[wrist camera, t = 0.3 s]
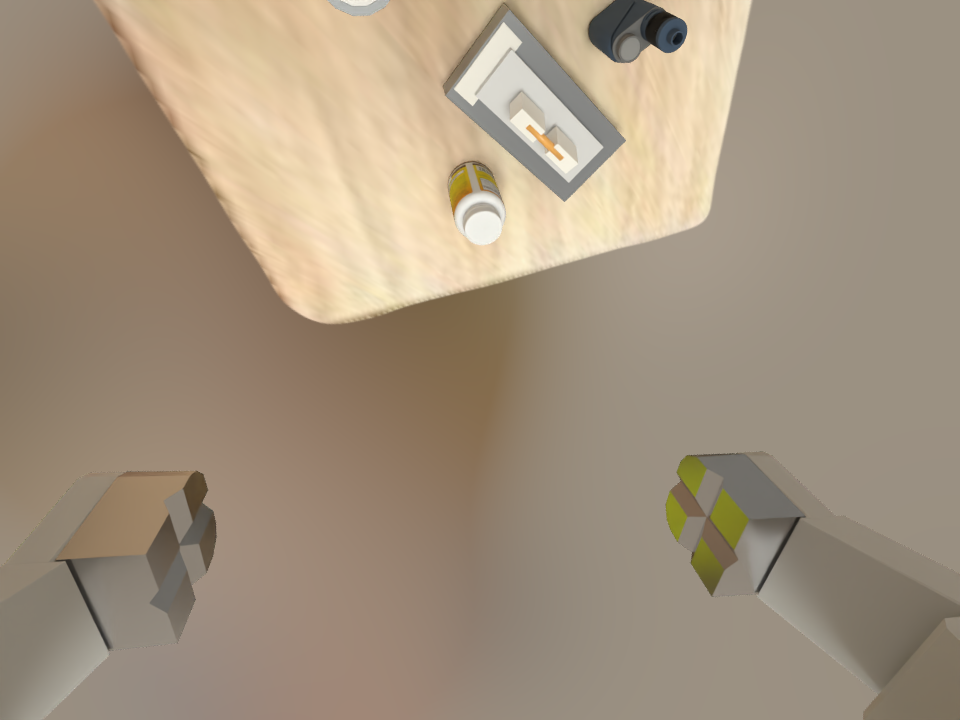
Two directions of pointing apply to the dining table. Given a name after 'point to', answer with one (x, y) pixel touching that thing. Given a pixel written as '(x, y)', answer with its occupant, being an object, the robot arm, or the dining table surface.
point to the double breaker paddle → (533, 128)
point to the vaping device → (635, 30)
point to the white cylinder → (359, 6)
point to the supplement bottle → (476, 203)
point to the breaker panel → (530, 69)
